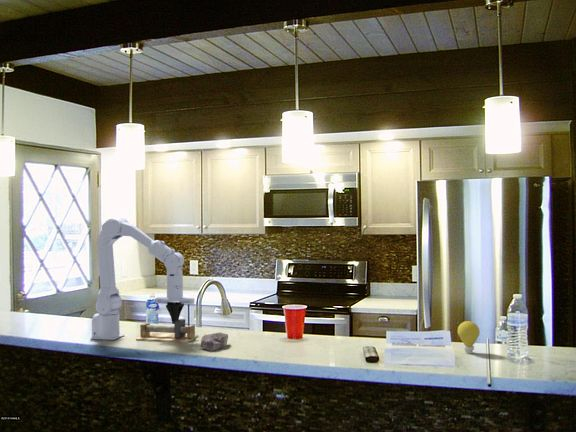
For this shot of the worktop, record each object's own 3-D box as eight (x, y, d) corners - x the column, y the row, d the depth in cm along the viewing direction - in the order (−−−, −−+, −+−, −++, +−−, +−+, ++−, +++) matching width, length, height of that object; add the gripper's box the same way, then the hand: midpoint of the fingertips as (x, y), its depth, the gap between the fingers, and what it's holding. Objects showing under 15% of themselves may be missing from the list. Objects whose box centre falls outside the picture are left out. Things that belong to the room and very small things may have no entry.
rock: (196, 351, 191) (196, 337, 191) (207, 343, 202) (207, 330, 202) (219, 352, 190) (219, 338, 190) (229, 344, 201) (229, 331, 201)
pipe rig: (135, 340, 209) (135, 326, 209) (149, 334, 218) (149, 321, 218) (186, 342, 203) (186, 328, 203) (198, 336, 213) (198, 323, 213)
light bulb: (462, 349, 188) (462, 318, 188) (483, 352, 184) (482, 320, 184) (454, 353, 183) (453, 321, 183) (475, 356, 179) (474, 323, 179)
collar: (174, 338, 207) (174, 321, 207) (181, 335, 212) (180, 319, 212) (179, 338, 207) (179, 321, 207) (185, 335, 212) (185, 319, 212)
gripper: (151, 287, 208) (151, 324, 208) (188, 287, 204) (188, 326, 204) (160, 284, 215) (161, 321, 215) (196, 285, 211) (197, 322, 211)
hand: (175, 323), depth 210 cm, fingers closed
